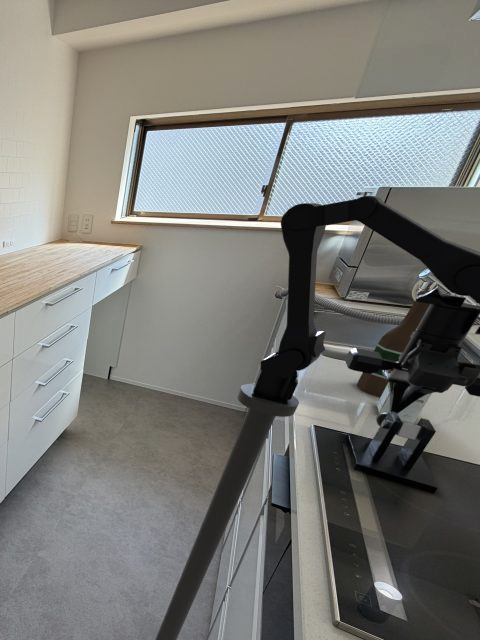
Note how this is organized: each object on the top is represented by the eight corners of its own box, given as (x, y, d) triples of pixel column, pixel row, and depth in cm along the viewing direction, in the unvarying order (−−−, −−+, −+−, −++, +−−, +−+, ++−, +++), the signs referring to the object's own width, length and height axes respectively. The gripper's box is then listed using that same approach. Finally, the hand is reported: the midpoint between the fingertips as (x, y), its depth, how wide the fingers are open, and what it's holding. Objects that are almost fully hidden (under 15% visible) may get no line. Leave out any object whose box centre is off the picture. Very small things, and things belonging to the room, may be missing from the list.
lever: (371, 424, 79) (378, 408, 78) (393, 430, 78) (400, 414, 77) (392, 436, 69) (400, 418, 68) (418, 443, 67) (426, 425, 67)
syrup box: (414, 424, 85) (454, 360, 78) (376, 414, 88) (412, 352, 81) (409, 413, 89) (447, 351, 82) (374, 404, 92) (407, 344, 85)
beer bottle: (355, 380, 103) (404, 285, 93) (396, 390, 99) (454, 292, 88) (356, 391, 98) (408, 291, 87) (400, 402, 94) (461, 298, 83)
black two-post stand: (345, 437, 79) (366, 397, 75) (415, 457, 74) (442, 415, 70) (353, 469, 70) (378, 425, 66) (434, 493, 65) (466, 448, 61)
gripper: (375, 333, 67) (333, 415, 74) (547, 363, 58) (481, 452, 65) (364, 317, 76) (327, 392, 83) (513, 341, 67) (458, 423, 74)
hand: (392, 413), depth 76 cm, fingers closed
